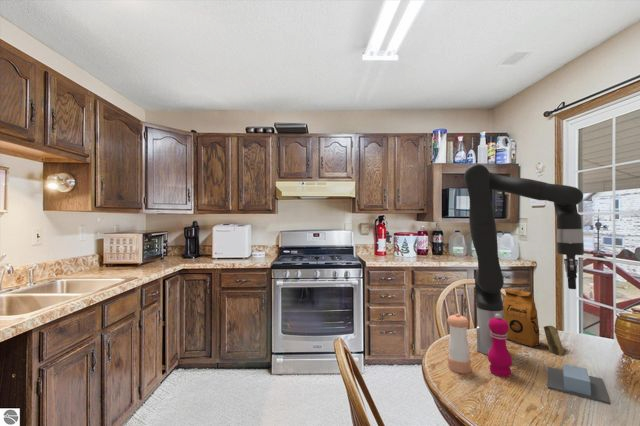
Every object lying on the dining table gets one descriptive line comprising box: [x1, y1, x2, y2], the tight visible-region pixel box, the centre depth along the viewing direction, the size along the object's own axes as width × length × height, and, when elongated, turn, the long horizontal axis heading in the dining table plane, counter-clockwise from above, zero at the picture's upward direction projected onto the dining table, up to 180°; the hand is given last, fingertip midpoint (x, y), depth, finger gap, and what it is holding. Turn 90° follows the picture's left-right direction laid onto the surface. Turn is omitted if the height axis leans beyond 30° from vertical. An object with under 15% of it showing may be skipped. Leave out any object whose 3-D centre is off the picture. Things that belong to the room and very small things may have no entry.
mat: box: [547, 366, 611, 405], centre depth 95 cm, size 14×16×1 cm
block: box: [562, 363, 591, 396], centre depth 93 cm, size 6×4×10 cm
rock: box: [543, 325, 565, 357], centre depth 120 cm, size 11×9×10 cm
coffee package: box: [503, 288, 540, 348], centre depth 130 cm, size 10×12×22 cm
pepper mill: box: [487, 314, 513, 378], centre depth 103 cm, size 7×7×20 cm
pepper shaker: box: [446, 313, 472, 374], centre depth 107 cm, size 7×7×19 cm
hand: (572, 288), depth 109 cm, fingers closed
